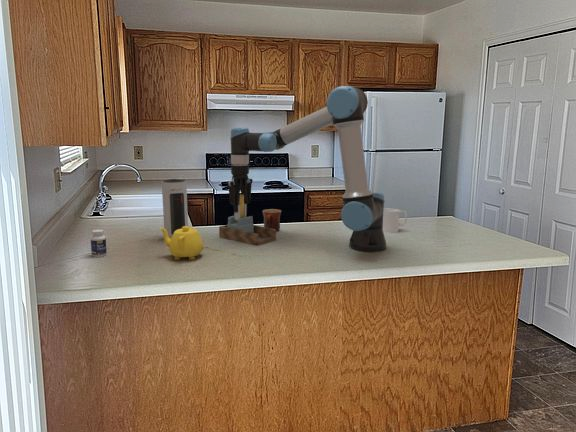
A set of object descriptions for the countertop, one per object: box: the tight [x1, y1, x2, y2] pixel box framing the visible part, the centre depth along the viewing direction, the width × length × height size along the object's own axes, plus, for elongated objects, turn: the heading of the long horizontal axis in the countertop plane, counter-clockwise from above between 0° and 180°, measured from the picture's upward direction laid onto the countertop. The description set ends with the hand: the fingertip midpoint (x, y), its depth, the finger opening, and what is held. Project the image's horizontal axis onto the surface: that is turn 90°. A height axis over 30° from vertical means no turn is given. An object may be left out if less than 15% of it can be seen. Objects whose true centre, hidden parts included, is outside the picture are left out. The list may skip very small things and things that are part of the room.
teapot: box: [158, 225, 204, 261], centre depth 185 cm, size 14×14×12 cm
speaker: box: [161, 178, 189, 239], centre depth 210 cm, size 11×10×26 cm
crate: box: [226, 215, 255, 233], centre depth 210 cm, size 8×8×9 cm
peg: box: [237, 193, 244, 223], centre depth 209 cm, size 3×3×12 cm
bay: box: [218, 224, 277, 247], centre depth 209 cm, size 22×12×6 cm, turn 51°
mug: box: [262, 208, 282, 232], centre depth 223 cm, size 12×9×10 cm
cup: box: [383, 207, 408, 234], centre depth 231 cm, size 8×12×10 cm
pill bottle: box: [90, 229, 108, 258], centre depth 186 cm, size 5×5×10 cm
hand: (240, 218), depth 210 cm, fingers closed on peg, 3 cm apart
